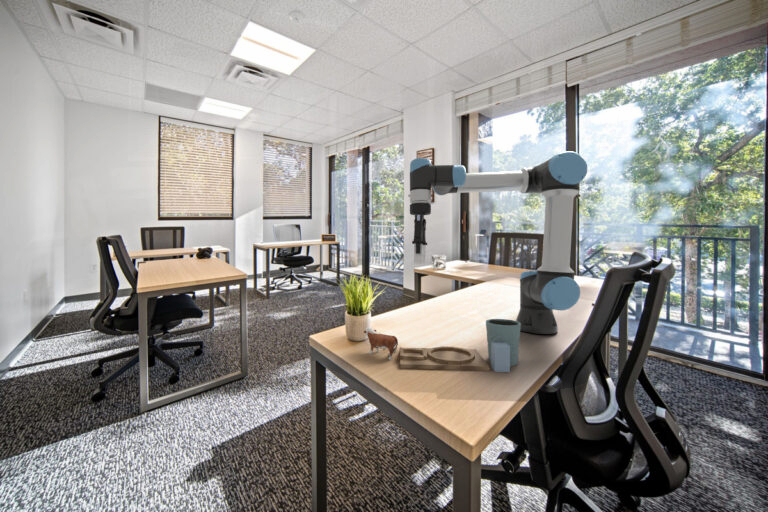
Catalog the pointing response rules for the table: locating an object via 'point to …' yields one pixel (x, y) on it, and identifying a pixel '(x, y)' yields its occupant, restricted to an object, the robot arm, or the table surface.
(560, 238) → the robot arm
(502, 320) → the teal cup
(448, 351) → the jig
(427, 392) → the table surface
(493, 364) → the block
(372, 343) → the bull figurine
